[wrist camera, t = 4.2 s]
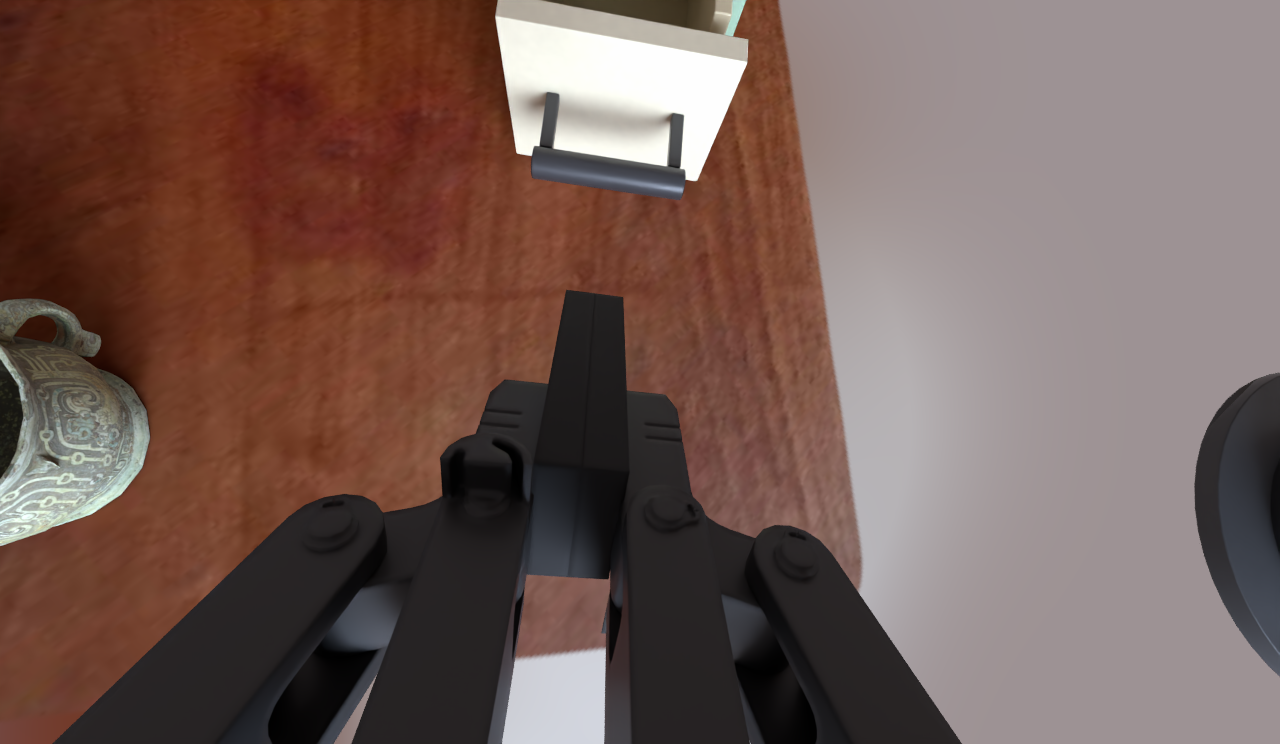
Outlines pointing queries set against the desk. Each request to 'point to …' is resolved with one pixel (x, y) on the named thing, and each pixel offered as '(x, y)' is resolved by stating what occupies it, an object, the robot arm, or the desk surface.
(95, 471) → the vessel
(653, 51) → the drawer
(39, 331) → the desk surface
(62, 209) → the desk surface
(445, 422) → the desk surface
